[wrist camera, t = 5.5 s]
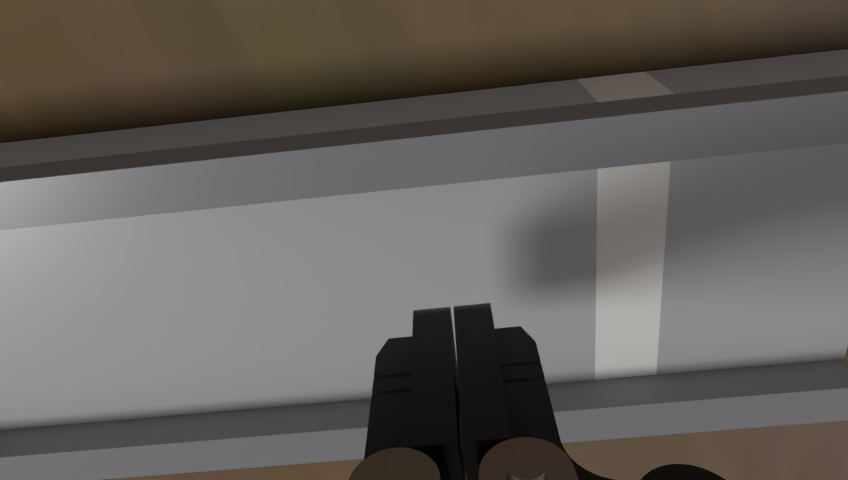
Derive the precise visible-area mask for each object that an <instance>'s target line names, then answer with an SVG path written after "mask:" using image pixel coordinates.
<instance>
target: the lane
mask: <svg viewBox="0 0 848 480" xmlns="http://www.w3.org/2000/svg"><path fill="white" fill-rule="evenodd" d="M483 303H490V304H491V310H492V316H493V322H494V328H506V327H517V326H521V327H522V328H523V329H524V330H525V331H526V332H527V333H528V334H529V335H530V336H531V337H532V338H533V339H534V340H535V341H536V345H537V349H538V353H539V357H540V361H541V365H542V369H543V372H544V376H545V381H546V384H547V388H548V392H549V396H550V400H551V404H552V408H553V412H554V416H555V420H556V424H557V428H558V432H559V436H560V440H561V443H569V442H581V441H594V440H606V439H619V438H632V437H644V436H657V435H669V434H682V433H695V432H707V431H720V430H733V429H745V428H758V427H770V426H783V425H796V424H808V423H821V422H833V421H846V420H848V49H843V50H834V51H825V52H816V53H807V54H798V55H789V56H780V57H771V58H762V59H753V60H744V61H735V62H726V63H717V64H708V65H699V66H690V67H681V68H672V69H663V70H654V71H645V72H636V73H627V74H618V75H609V76H600V77H591V78H582V79H573V80H564V81H555V82H546V83H537V84H528V85H519V86H510V87H501V88H492V89H483V90H474V91H465V92H456V93H447V94H438V95H429V96H420V97H411V98H402V99H393V100H384V101H376V102H367V103H358V104H349V105H340V106H331V107H322V108H313V109H304V110H295V111H286V112H277V113H268V114H259V115H250V116H241V117H232V118H223V119H214V120H205V121H196V122H187V123H178V124H169V125H160V126H151V127H142V128H133V129H124V130H115V131H106V132H97V133H88V134H79V135H70V136H61V137H52V138H43V139H34V140H25V141H16V142H7V143H0V480H102V479H114V478H127V477H140V476H152V475H165V474H178V473H190V472H203V471H215V470H228V469H241V468H253V467H266V466H278V465H291V464H304V463H316V462H329V461H342V460H354V459H364V456H365V447H366V439H367V430H368V421H369V413H370V404H371V396H372V386H373V380H374V369H375V360H376V356H377V354H378V353H379V351H380V350H381V349H382V347H383V346H384V344H385V343H386V341H387V340H388V339H389V338H399V337H410V336H412V330H413V311H414V310H421V309H432V308H443V307H450V308H451V315H452V324H453V332H454V341H455V350H456V338H455V323H454V306H462V305H473V304H483ZM456 359H457V353H456Z"/></svg>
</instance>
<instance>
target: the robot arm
mask: <svg viewBox="0 0 848 480" xmlns="http://www.w3.org/2000/svg"><path fill="white" fill-rule="evenodd" d="M454 323H455V338H456V350H455V341H454V332H453V324H452V315H451V308H450V307H443V308H432V309H421V310H414V311H413V330H412V336H410V337H399V338H389V339H388V340H387V341H386V343H385V344H384V346H383V347H382V349H381V350H380V351H379V353H378V354H377V356H376V360H375V369H374V380H373V386H372V396H371V404H370V413H369V421H368V430H367V439H366V447H365V456H364V460H363V461H362V462H361V463H360V464H359V465H358V466H357V467H356V468H355V469H354V471H353V472H352V474H351V476H350V478H349V480H466V477H467V480H613V479H609V478H605V477H601V476H598V475H596V474H593V473H591V472H589V471H587V470H585V469H584V468H582V467H581V466H579V465H578V464H577V463H576V462H574V461H573V460H572V459H571V458H570V456H569V455H568V454H567V453H566V451H565V449H564V448H563V446H562V443H561V440H560V436H559V432H558V428H557V424H556V420H555V416H554V412H553V408H552V404H551V400H550V396H549V392H548V388H547V384H546V381H545V376H544V372H543V369H542V365H541V361H540V357H539V353H538V349H537V345H536V341H535V340H534V339H533V338H532V337H531V336H530V335H529V334H528V333H527V332H526V331H525V330H524V329H523V328H522V327H521V326H517V327H506V328H494V322H493V316H492V310H491V304H490V303H483V304H473V305H462V306H454ZM456 353H457V359H456ZM465 468H466V471H465ZM641 480H725V479H723V478H722V477H720V476H718V475H716V474H714V473H713V472H711V471H708V470H705V469H703V468H700V467H696V466H692V465H685V464H672V465H665V466H661V467H658V468H656V469H654V470H651V471H650V472H649V473H647V474H646V475H645V476H644V477H643V478H642V479H641Z"/></svg>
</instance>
